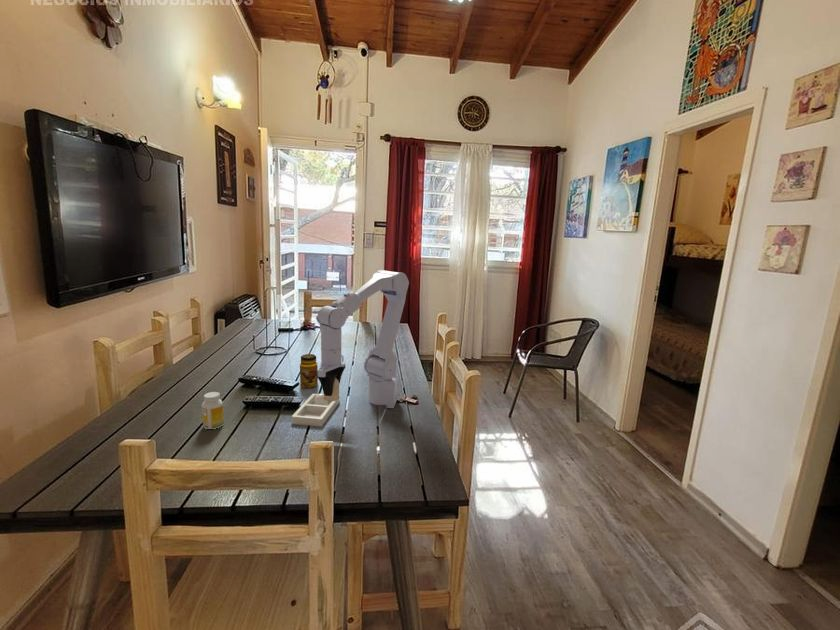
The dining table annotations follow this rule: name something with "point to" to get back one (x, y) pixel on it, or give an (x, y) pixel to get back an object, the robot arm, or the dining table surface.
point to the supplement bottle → (212, 411)
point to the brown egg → (334, 392)
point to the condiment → (308, 371)
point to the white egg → (320, 400)
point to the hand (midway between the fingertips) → (331, 392)
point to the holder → (313, 412)
